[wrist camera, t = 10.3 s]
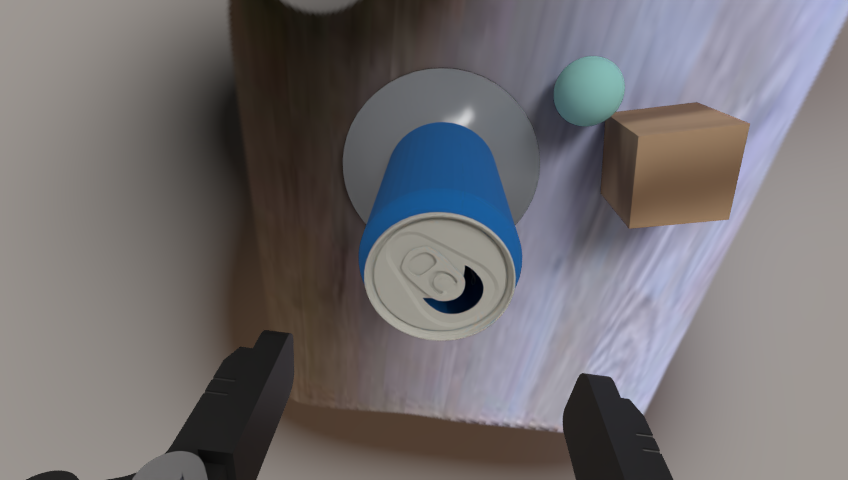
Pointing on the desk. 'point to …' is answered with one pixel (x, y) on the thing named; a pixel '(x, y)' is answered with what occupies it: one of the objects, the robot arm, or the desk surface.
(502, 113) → the coaster
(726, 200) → the walnut cube
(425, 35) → the desk surface
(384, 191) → the beverage can
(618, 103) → the teal ball
